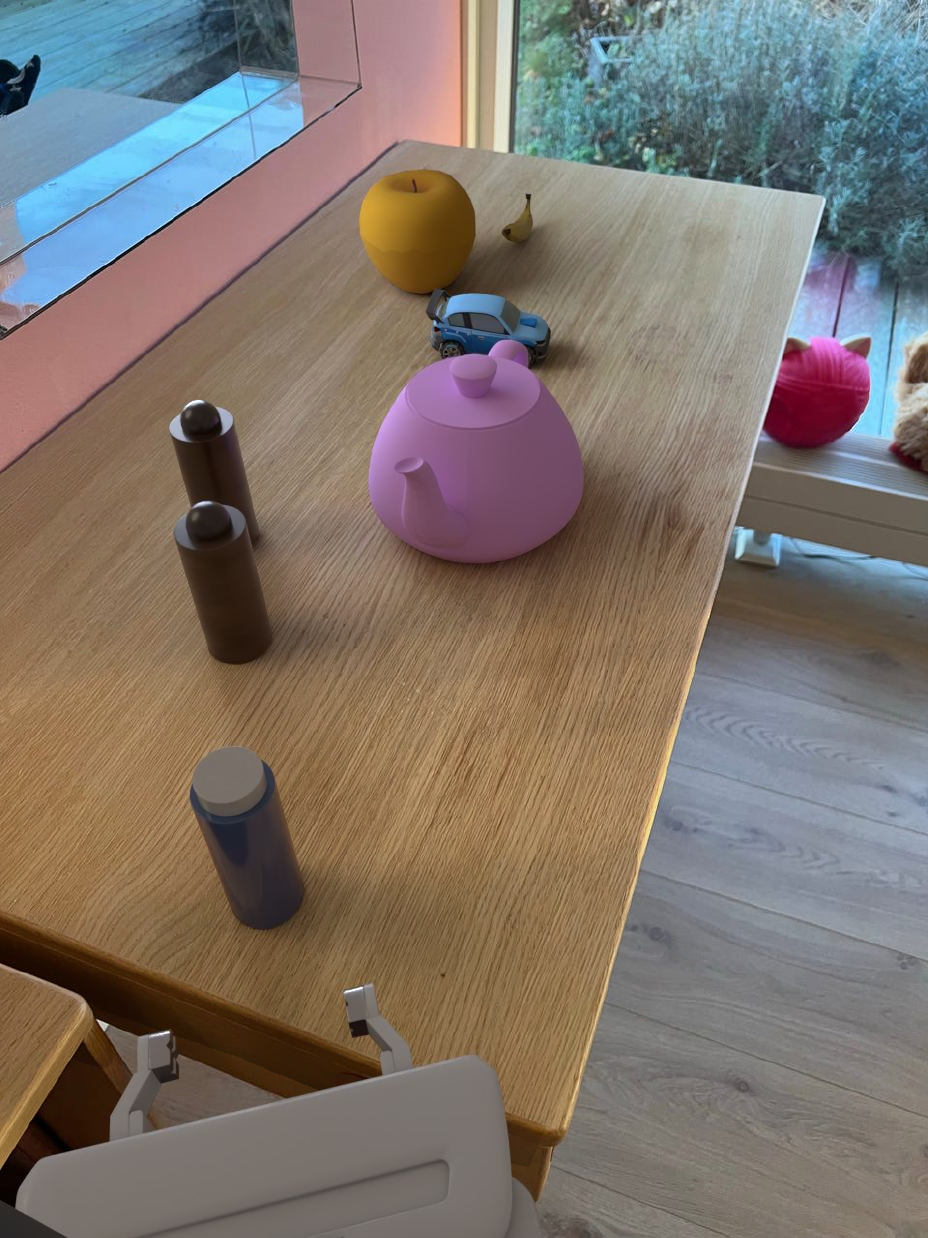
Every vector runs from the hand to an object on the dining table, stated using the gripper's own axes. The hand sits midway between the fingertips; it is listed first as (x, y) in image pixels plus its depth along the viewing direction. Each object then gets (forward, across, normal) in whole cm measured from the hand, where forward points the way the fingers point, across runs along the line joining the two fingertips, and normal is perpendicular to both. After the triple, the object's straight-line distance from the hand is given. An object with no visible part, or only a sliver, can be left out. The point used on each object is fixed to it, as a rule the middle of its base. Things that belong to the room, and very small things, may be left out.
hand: (260, 1013), depth 47 cm
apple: (+84, -24, +8) cm, 88 cm away
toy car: (+67, -28, +8) cm, 73 cm away
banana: (+91, -37, +8) cm, 98 cm away
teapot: (+42, -20, +8) cm, 47 cm away
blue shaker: (+11, 0, +8) cm, 13 cm away
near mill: (+32, 0, +8) cm, 33 cm away
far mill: (+45, 0, +8) cm, 45 cm away
